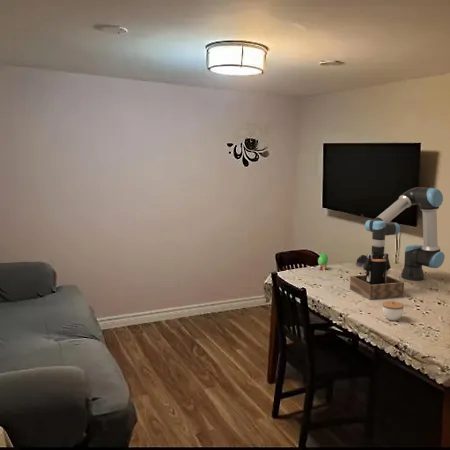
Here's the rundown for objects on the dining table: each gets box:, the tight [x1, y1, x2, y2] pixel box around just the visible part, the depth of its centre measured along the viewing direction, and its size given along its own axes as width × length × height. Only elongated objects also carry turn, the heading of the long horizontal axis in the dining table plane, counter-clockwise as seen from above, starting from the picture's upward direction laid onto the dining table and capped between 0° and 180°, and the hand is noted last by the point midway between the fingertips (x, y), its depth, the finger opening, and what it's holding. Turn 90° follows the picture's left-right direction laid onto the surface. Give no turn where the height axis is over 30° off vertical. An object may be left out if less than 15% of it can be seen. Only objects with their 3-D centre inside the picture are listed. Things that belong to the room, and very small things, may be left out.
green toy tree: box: [317, 252, 329, 271], centre depth 345 cm, size 15×14×14 cm
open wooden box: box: [349, 274, 405, 301], centre depth 285 cm, size 23×23×9 cm
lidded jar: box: [381, 300, 405, 321], centre depth 241 cm, size 11×11×9 cm
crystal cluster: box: [356, 254, 367, 268], centre depth 356 cm, size 13×14×10 cm
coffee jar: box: [367, 257, 387, 285], centre depth 284 cm, size 11×11×18 cm
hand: (376, 280), depth 285 cm, fingers closed on coffee jar, 10 cm apart
